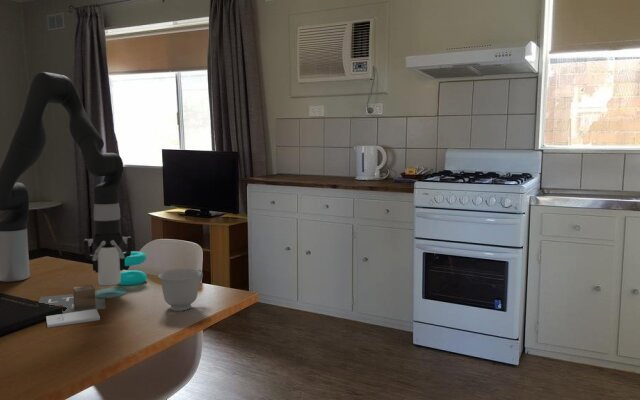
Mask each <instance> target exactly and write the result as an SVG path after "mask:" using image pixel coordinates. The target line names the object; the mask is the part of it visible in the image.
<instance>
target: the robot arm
mask: <svg viewBox="0 0 640 400" xmlns="http://www.w3.org/2000/svg"><path fill="white" fill-rule="evenodd" d="M25 100H26V101H25V104H24V108H23V111H22V114H21V116H20V118H19V119H20V120H19V122H18V124H17V127H16V130H15V132H14V134H13V136H12V139H11V141H10V144H9V146H8V147H9V148H8V150H7V152H6V155H5V157H4V159H3V162H2V164H1V165H0V212H2V211H7V214H6V215H5V216H4V217H2V218H1V219H0V282H6V283H7V282H9V283H10V282H18V281H19V282H20V281H23V280H26V279H28V278H30V277H31V275H30V258H29V254H30V253H29V241H28V239H29V237H28V223H29V219H30V218H29V217H30V215H29V213H30V209H29V208H30V205H29V204H30V199H29V196H30V195H29V191H28V188H27V187H26V185H25V184H24V183H22V182H17V181H18V179H19V178H20V177H21V176H22V175H23V174H25V172H26V171H28V170H29V169H30V168H31V167H32V166H33V165H35V163H37V162H38V160H39V159H40V158H41V155H42V153H43V151H44V148H45V145H46V142H47V133H46V130H45V125H44V122H43V117H44V114H45V113H44V112H45V110H46V107H47V106H48V104H59V105H62V107H63V108H64V109H65V110H66V112H67V114H68V116H69V119H68V121H69V123H68V124H69V125H68V126H69V132H70V135H71V137H72V138H73V140H74V142H75V144H76V145H77V146H78V148H79V149H80V151H81V156H82V158H83V162H84V165H85V168H86V170H87V172H89V174H90V175H93V176H95V177H104V178H103V181H102V182H100V183H99V184H96V185H95V186H94V188H93V227H94V228H93V230H94V231H93V232H94V235H93V238H84V240H83V247H84V253H85V254H84V255H85V260H89V261H92V270H93V272H95V273H97V274H98V261H97V258H98V254H99V250H100V249H101V248H100V247H115V246H116V249H118V253H119V256H120V272H121V271H122V272H123V271H124V269H125V268H126V266H125V258H126V257H128V256H130V255H131V251H132V242H133V241H132V238H133V237H132V236H131V235H129V236H123V235H122V230H121V226H122V225H121V208H120V203H119V202H120V201H119V200H120V198H119V189H120V186H121V182H122V176H123V173H124V161H123V159H122V157H121V156H120V155H119V154H118V153H115V152H100V151H102V149H103V148H104V146H105V142H104V140H103V138H102V137H101V135H100V133H99V132H98V130H97V129H96V127H95V126H94V125H93V123H92V121H91V120H90V118H89V116H88V113H87V112H86V109H85V108H84V105H83V102H82V100H81V98H80V95H79V93H78V91H77V89H76V87H75V85H74V83H73V81H72V80H71V79H70V78H69V77H67V76H66V75H63V74H60V73H53V72H47V71H40V72H37V73H36V75H35V76H34V77H33V78H32V80H31V83H30V86H29V89H28V94H27V97H26V99H25ZM122 242H124V244H126V251H124V252H125V253H123V250H122V249H121V247H120V244H121V243H122ZM92 243H93V244H94V245H95V246H96V247H97V248H96V249H95V251H94V253H93V254H90V253H91V252H90V251H91V250H90V247H91V246H92Z"/></svg>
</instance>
